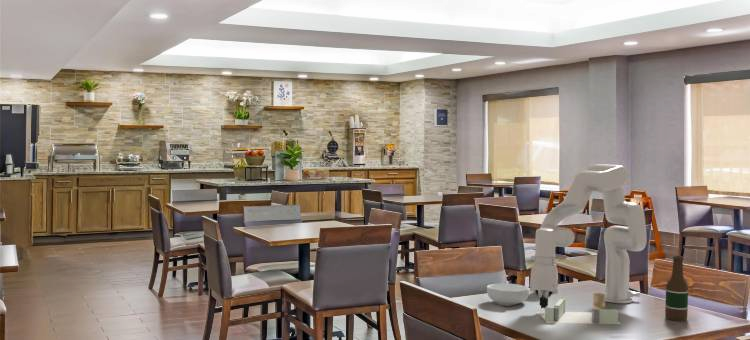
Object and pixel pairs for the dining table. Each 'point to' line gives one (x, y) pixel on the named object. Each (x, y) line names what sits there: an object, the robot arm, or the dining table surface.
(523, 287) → the cereal bowl
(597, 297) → the roller
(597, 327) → the dining table surface
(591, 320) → the gate frame
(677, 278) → the beer bottle
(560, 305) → the gate
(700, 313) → the dining table surface
